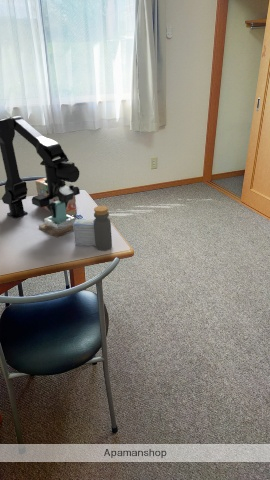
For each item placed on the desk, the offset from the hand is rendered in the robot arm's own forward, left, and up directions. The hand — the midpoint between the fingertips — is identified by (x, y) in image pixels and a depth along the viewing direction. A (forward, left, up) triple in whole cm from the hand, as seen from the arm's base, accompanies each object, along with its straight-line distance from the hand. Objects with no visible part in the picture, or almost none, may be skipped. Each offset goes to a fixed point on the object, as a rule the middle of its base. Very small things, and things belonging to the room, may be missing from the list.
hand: (59, 215), depth 139 cm
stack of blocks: (-15, +10, -5) cm, 19 cm away
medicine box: (+18, -2, -5) cm, 19 cm away
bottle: (+25, 0, -5) cm, 26 cm away
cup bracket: (0, 0, -5) cm, 5 cm away
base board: (0, 0, -5) cm, 5 cm away
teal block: (0, 0, -2) cm, 3 cm away
